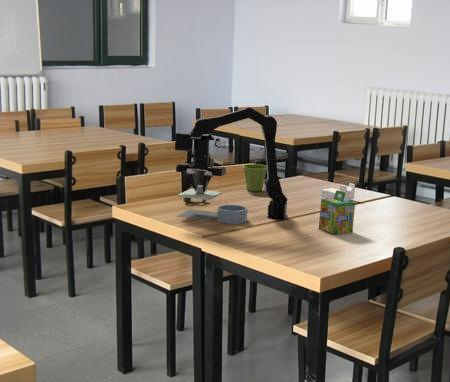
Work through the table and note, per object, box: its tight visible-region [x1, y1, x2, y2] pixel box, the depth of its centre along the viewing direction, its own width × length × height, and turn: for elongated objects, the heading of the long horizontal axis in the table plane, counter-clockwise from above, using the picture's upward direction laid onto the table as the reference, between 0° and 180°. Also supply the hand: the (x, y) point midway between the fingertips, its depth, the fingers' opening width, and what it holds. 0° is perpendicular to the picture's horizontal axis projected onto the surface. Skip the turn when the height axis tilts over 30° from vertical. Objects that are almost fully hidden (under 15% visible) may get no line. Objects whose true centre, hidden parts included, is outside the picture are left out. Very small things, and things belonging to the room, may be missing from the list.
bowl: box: [216, 204, 249, 225], centre depth 269 cm, size 11×11×5 cm
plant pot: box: [242, 163, 267, 192], centre depth 327 cm, size 12×12×11 cm
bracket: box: [320, 183, 356, 201], centre depth 316 cm, size 13×7×8 cm, turn 41°
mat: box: [175, 208, 217, 222], centre depth 275 cm, size 14×14×1 cm
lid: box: [177, 184, 223, 201], centre depth 274 cm, size 13×13×4 cm
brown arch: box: [183, 184, 208, 204], centre depth 297 cm, size 12×10×8 cm
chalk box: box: [318, 189, 356, 235], centre depth 259 cm, size 9×9×15 cm
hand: (200, 191), depth 274 cm, fingers closed on lid, 3 cm apart
